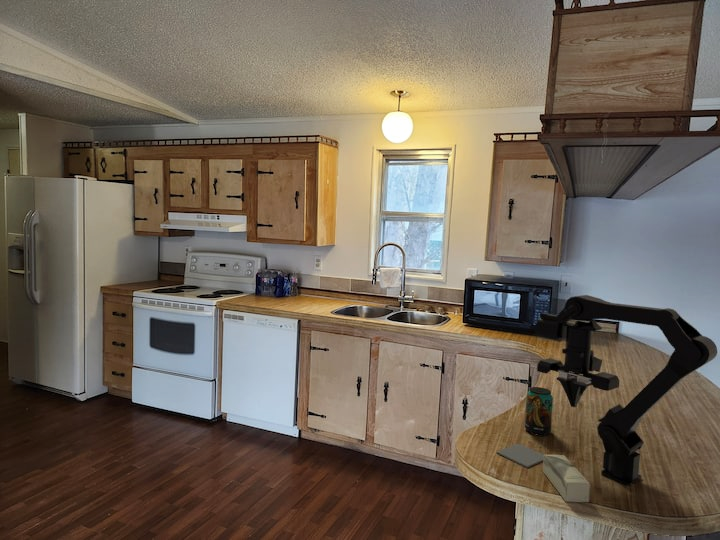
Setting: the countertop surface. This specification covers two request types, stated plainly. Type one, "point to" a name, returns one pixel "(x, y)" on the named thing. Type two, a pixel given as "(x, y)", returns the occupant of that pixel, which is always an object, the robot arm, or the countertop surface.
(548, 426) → the beverage can
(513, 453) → the mat
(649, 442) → the countertop surface
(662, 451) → the countertop surface
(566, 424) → the countertop surface
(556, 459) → the box
